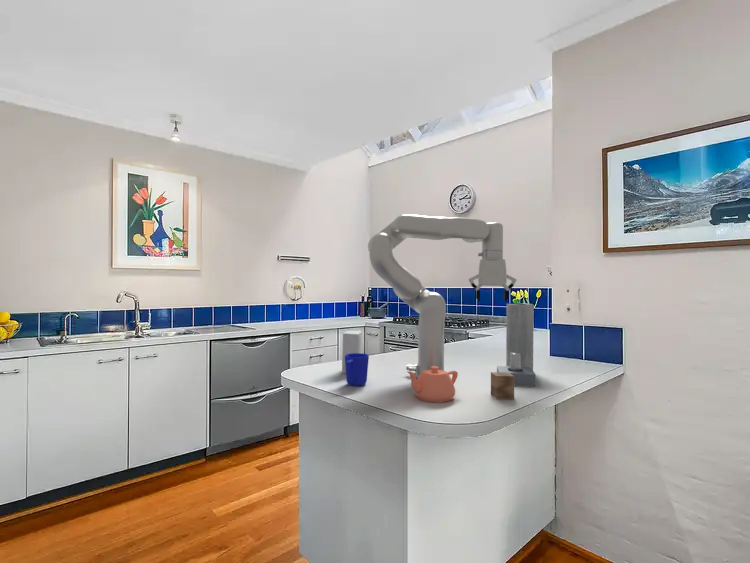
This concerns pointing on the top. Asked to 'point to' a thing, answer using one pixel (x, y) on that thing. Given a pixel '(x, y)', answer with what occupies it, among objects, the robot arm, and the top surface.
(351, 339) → the skincare box
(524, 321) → the vase
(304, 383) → the top surface
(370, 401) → the top surface
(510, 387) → the square peg
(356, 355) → the mug
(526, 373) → the socket block
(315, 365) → the top surface
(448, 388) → the teapot
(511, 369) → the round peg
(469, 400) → the top surface
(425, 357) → the robot arm
